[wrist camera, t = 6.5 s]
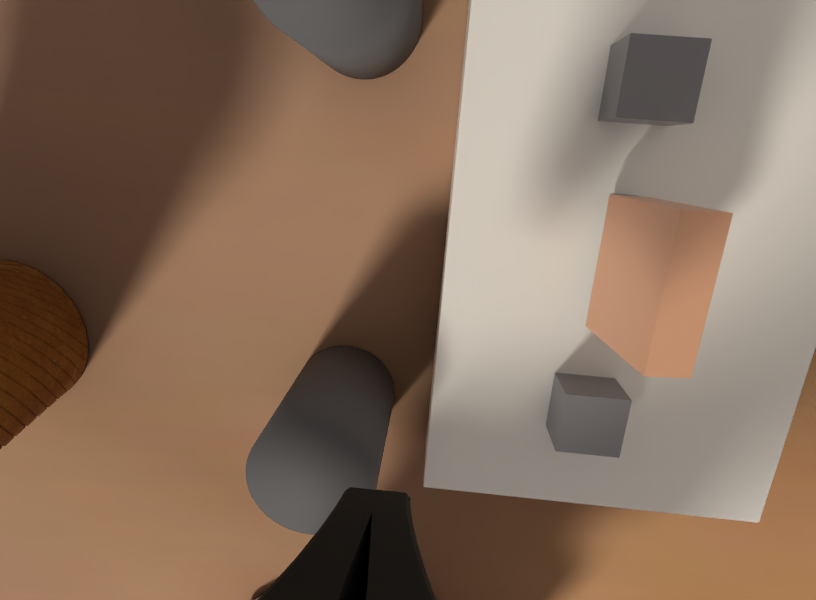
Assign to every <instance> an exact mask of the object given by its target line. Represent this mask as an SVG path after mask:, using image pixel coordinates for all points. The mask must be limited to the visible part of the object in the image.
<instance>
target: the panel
mask: <svg viewBox="0 0 816 600" xmlns="http://www.w3.org/2000/svg"><path fill="white" fill-rule="evenodd" d="M610 193H619V194H630V195H637V196H641V197H652V198H657V199H662V200H667V201H673V202H678V203H683V204H688V205H694V206H699V207H704V208H709V209H715V210H720V211H725V212H730V213H733V216H732V220H731V224H730V228H729V232H728V235H727V239H726V243H725V247H724V251H723V255H722V259H721V263H720V267H719V271H718V275H717V279H716V283H715V287H714V291H713V294H712V298H711V302H710V306H709V310H708V314H707V318H706V322H705V326H704V330H703V334H702V338H701V342H700V346H699V350H698V353H697V357H696V361H695V365H694V369H693V373H692V377H691V379H689V378H667V377H645V376H643V375H641V374H640V373H639V372H638V371H637V370H636V369H635V368H633V367H632V366H631V365H630V364H629V363H628V362H626V361H625V360H624V359H623V358H622V357H621V356H619V355H618V354H617V353H616V352H615V351H614V350H613V349H611V348H610V347H609V346H608V345H607V344H606V343H604V342H603V341H602V340H601V339H600V338H599V337H597V336H596V335H595V334H594V333H593V332H592V331H591V330H589V329H588V328H587V327H586V326H585V325H586V320H587V314H588V309H589V304H590V298H591V293H592V287H593V282H594V276H595V271H596V266H597V260H598V255H599V249H600V244H601V238H602V233H603V228H604V222H605V217H606V211H607V206H608V200H609V195H610ZM815 347H816V0H469V7H468V17H467V27H466V37H465V48H464V58H463V68H462V78H461V89H460V99H459V109H458V119H457V130H456V140H455V150H454V160H453V171H452V181H451V191H450V201H449V212H448V222H447V232H446V242H445V253H444V263H443V273H442V283H441V294H440V304H439V314H438V324H437V335H436V345H435V355H434V365H433V376H432V386H431V396H430V407H429V417H428V427H427V437H426V451H425V468H424V485H423V487H429V488H438V489H447V490H457V491H466V492H476V493H485V494H494V495H504V496H513V497H523V498H532V499H541V500H551V501H560V502H570V503H579V504H588V505H598V506H607V507H617V508H626V509H635V510H645V511H654V512H663V513H673V514H682V515H692V516H701V517H710V518H720V519H729V520H739V521H748V522H757V523H759V520H760V517H761V514H762V511H763V508H764V505H765V502H766V499H767V496H768V492H769V489H770V486H771V483H772V480H773V477H774V474H775V471H776V468H777V465H778V462H779V458H780V455H781V452H782V449H783V446H784V443H785V440H786V437H787V434H788V431H789V428H790V424H791V421H792V418H793V415H794V412H795V409H796V406H797V403H798V400H799V397H800V393H801V390H802V387H803V384H804V381H805V378H806V375H807V372H808V369H809V366H810V363H811V359H812V356H813V353H814V350H815Z"/></svg>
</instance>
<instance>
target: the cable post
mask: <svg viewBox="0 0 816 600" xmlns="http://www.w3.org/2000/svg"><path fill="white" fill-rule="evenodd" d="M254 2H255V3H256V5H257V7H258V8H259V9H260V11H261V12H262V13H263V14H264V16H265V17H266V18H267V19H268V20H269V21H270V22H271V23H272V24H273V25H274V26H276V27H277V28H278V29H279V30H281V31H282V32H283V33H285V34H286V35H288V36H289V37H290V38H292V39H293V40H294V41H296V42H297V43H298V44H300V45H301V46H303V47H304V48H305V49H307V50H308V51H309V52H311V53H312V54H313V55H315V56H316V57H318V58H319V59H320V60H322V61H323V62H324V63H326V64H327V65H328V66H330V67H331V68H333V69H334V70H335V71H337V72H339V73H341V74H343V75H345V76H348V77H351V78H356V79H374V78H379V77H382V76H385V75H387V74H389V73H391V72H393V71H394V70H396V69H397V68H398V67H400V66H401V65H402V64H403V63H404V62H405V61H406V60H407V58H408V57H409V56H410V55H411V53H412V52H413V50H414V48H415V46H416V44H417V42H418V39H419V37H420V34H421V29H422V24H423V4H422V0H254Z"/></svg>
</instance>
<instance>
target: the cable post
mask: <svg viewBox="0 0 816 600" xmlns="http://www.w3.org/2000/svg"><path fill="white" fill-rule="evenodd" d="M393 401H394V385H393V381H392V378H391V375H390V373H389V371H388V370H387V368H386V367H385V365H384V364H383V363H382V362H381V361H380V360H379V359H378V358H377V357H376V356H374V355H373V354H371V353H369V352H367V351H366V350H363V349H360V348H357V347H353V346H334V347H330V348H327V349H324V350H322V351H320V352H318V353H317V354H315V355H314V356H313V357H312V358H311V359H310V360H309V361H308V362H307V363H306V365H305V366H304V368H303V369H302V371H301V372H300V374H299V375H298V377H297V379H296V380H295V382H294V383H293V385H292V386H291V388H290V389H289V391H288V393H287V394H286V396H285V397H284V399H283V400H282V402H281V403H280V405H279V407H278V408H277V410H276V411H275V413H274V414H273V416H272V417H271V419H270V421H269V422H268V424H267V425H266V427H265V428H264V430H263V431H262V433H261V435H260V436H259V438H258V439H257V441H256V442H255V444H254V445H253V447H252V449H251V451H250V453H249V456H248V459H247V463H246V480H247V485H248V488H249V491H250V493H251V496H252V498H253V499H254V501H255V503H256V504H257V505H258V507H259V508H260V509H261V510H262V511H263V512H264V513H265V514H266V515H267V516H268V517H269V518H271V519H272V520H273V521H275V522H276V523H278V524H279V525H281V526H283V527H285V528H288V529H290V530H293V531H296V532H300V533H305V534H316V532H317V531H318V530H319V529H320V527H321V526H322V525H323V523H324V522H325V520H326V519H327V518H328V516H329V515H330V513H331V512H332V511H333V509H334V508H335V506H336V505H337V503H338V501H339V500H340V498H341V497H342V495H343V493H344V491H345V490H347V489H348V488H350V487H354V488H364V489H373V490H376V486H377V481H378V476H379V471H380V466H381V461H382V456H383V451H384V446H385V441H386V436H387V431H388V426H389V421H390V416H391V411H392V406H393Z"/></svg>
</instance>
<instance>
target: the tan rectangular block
mask: <svg viewBox="0 0 816 600" xmlns="http://www.w3.org/2000/svg"><path fill="white" fill-rule="evenodd" d="M732 216H733V213H730V212H725V211H720V210H715V209H709V208H704V207H699V206H694V205H688V204H683V203H678V202H673V201H667V200H662V199H657V198H652V197H641V196H637V195H630V194H619V193H610V195H609V200H608V206H607V211H606V217H605V222H604V228H603V233H602V238H601V244H600V249H599V255H598V260H597V266H596V271H595V276H594V282H593V287H592V293H591V298H590V304H589V309H588V314H587V320H586V325H585V326H586V327H587V328H588V329H589V330H591V331H592V332H593V333H594V334H595V335H596V336H597V337H599V338H600V339H601V340H602V341H603V342H604V343H606V344H607V345H608V346H609V347H610V348H611V349H613V350H614V351H615V352H616V353H617V354H618V355H619V356H621V357H622V358H623V359H624V360H625V361H626V362H628V363H629V364H630V365H631V366H632V367H633V368H635V369H636V370H637V371H638V372H639V373H640V374H641V375H643V376H645V377H667V378H689V379H691V377H692V373H693V369H694V365H695V361H696V357H697V353H698V350H699V346H700V342H701V338H702V334H703V330H704V326H705V322H706V318H707V314H708V310H709V306H710V302H711V298H712V294H713V291H714V287H715V283H716V279H717V275H718V271H719V267H720V263H721V259H722V255H723V251H724V247H725V243H726V239H727V235H728V232H729V228H730V224H731V220H732Z"/></svg>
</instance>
